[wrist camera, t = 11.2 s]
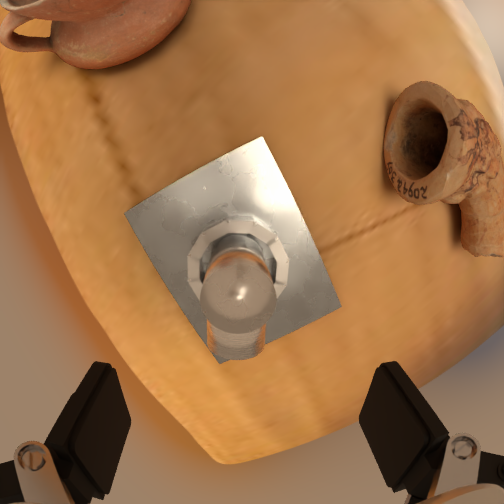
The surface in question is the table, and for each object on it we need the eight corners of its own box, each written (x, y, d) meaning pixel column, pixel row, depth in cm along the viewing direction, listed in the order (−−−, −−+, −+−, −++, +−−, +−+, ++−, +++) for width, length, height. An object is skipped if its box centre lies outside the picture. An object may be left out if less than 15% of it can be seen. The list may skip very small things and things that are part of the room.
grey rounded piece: (211, 233, 25) (199, 263, 17) (265, 235, 26) (279, 265, 18) (210, 308, 27) (201, 360, 19) (260, 309, 28) (270, 362, 19)
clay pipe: (425, 94, 26) (342, 103, 23) (494, 75, 17) (433, 64, 13) (460, 235, 31) (394, 289, 27) (527, 243, 21) (480, 316, 17)
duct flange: (126, 212, 25) (114, 216, 22) (261, 137, 24) (264, 132, 21) (219, 360, 30) (218, 376, 27) (339, 304, 29) (349, 316, 26)
